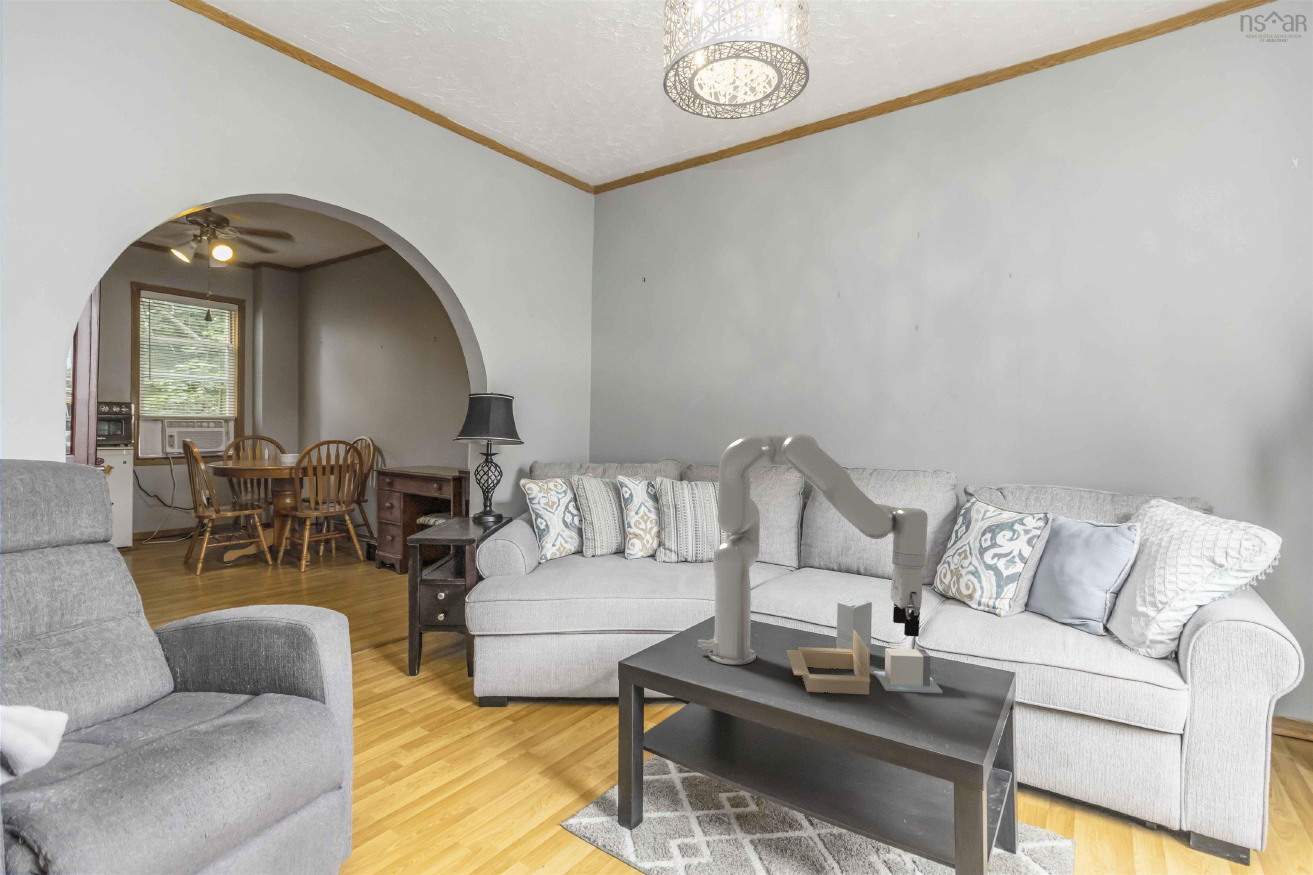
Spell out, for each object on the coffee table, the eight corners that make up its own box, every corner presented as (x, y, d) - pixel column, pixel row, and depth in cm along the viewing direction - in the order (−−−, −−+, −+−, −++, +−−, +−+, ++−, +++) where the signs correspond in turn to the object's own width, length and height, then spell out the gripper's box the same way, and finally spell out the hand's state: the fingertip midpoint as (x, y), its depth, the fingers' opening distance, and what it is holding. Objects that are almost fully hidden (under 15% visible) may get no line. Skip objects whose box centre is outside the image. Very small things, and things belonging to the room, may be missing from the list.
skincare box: (853, 649, 184) (854, 596, 184) (872, 655, 179) (873, 600, 179) (835, 655, 179) (835, 601, 178) (854, 662, 174) (855, 606, 174)
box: (890, 684, 158) (890, 654, 158) (884, 676, 163) (885, 647, 163) (929, 686, 157) (930, 656, 157) (923, 677, 162) (923, 648, 162)
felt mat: (885, 690, 155) (885, 688, 155) (874, 673, 166) (874, 671, 166) (942, 693, 154) (942, 691, 154) (927, 675, 165) (927, 673, 165)
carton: (795, 695, 152) (795, 652, 152) (785, 662, 173) (786, 624, 173) (871, 698, 151) (872, 655, 151) (852, 665, 172) (852, 627, 171)
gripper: (883, 551, 169) (880, 617, 169) (903, 566, 151) (899, 640, 152) (914, 552, 168) (910, 619, 168) (936, 568, 151) (933, 642, 151)
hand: (905, 629), depth 160 cm, fingers open, 9 cm apart
